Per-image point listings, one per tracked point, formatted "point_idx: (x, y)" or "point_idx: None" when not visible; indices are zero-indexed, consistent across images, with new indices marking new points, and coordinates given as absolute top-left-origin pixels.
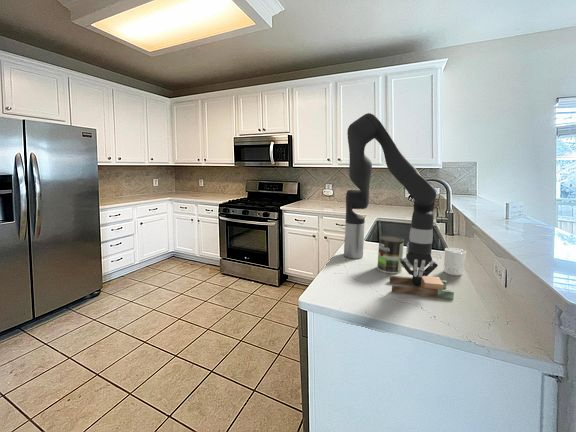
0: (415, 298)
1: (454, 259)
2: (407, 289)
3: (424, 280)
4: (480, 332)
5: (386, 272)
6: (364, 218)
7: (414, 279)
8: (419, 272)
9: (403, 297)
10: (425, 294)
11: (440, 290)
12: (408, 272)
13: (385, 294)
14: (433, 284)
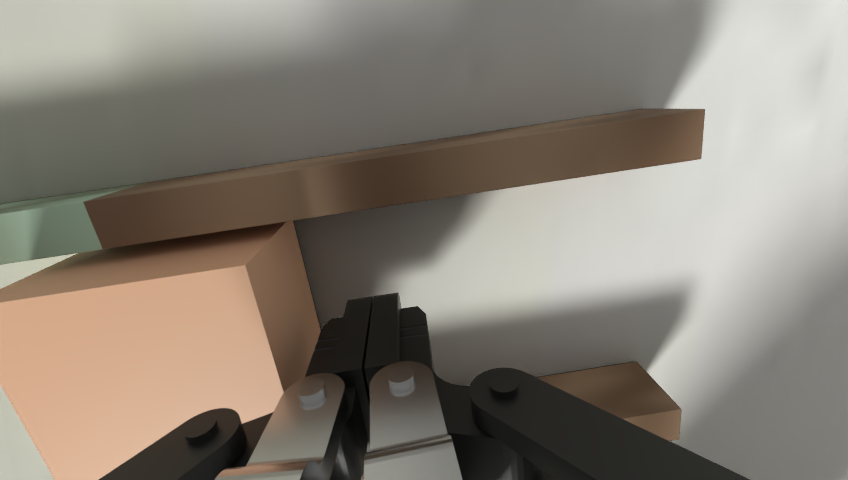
0: (382, 40)
1: None
2: (488, 138)
3: (263, 358)
4: None
5: None
6: None
7: (408, 346)
8: (323, 438)
9: (521, 9)
10: (270, 166)
11: (52, 217)
12: (541, 390)
13: (727, 12)
14: (123, 281)
